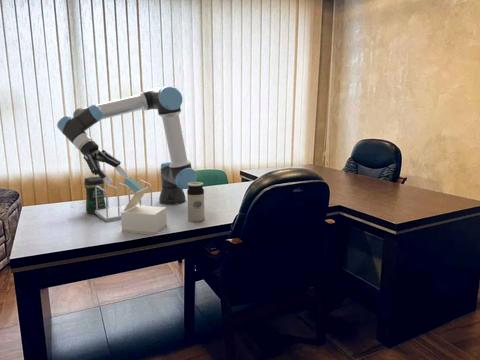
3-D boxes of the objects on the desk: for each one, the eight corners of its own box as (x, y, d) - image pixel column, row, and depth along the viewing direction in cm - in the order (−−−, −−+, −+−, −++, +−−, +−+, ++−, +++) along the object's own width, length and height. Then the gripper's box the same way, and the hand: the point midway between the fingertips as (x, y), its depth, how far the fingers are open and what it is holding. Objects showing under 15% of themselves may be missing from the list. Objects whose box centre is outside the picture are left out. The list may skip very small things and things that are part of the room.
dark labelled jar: (188, 217, 187) (187, 182, 183) (204, 216, 188) (203, 181, 184) (187, 222, 179) (186, 185, 176) (204, 221, 180) (203, 185, 176)
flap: (125, 211, 165) (109, 198, 165) (136, 205, 174) (122, 193, 175) (137, 192, 161) (122, 179, 162) (148, 187, 171) (134, 175, 172)
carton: (121, 232, 166) (120, 212, 164) (135, 223, 177) (134, 205, 176) (155, 234, 162) (154, 214, 160) (167, 226, 174) (166, 207, 172)
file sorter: (106, 222, 180) (103, 190, 177) (94, 214, 193) (92, 184, 190) (154, 213, 195) (153, 183, 192) (140, 206, 208) (139, 178, 205)
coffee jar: (89, 215, 192) (86, 179, 188) (84, 211, 198) (81, 176, 194) (108, 211, 197) (105, 176, 194) (103, 208, 204) (100, 174, 200)
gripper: (97, 148, 181) (128, 179, 181) (63, 155, 157) (98, 191, 157) (106, 137, 179) (137, 169, 178) (73, 142, 155) (108, 179, 155)
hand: (119, 179), depth 168 cm, fingers open, 13 cm apart
